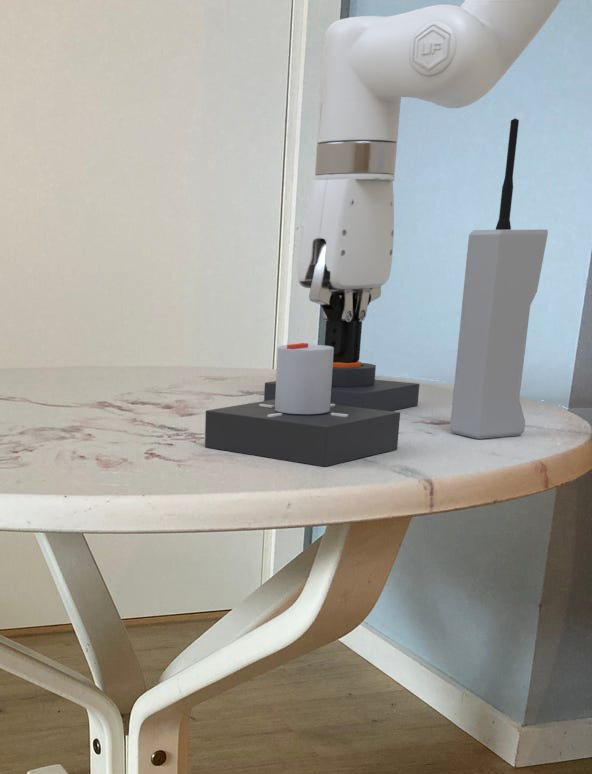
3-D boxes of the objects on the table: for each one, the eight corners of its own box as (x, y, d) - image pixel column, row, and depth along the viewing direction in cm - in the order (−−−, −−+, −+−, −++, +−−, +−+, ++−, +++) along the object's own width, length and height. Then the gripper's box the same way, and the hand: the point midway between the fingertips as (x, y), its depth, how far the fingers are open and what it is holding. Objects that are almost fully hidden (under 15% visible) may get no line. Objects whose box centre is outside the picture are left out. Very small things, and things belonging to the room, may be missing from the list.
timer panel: (397, 449, 89) (400, 410, 88) (325, 466, 83) (327, 424, 82) (279, 432, 98) (280, 396, 96) (204, 447, 91) (205, 408, 90)
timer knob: (295, 405, 92) (298, 339, 90) (340, 410, 89) (344, 342, 87) (263, 410, 89) (266, 343, 87) (309, 416, 86) (313, 346, 84)
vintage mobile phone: (524, 435, 95) (562, 117, 87) (477, 439, 94) (512, 114, 85) (494, 429, 99) (528, 121, 90) (449, 433, 97) (479, 119, 88)
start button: (366, 379, 112) (368, 361, 112) (346, 382, 110) (347, 364, 110) (337, 376, 115) (338, 359, 114) (316, 379, 113) (317, 361, 112)
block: (417, 405, 113) (421, 365, 111) (362, 416, 106) (365, 374, 105) (320, 394, 121) (323, 357, 119) (263, 404, 114) (265, 364, 113)
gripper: (365, 169, 113) (352, 353, 119) (275, 163, 103) (266, 364, 110) (431, 166, 108) (413, 359, 114) (342, 160, 98) (328, 370, 105)
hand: (341, 361), depth 112 cm, fingers closed
